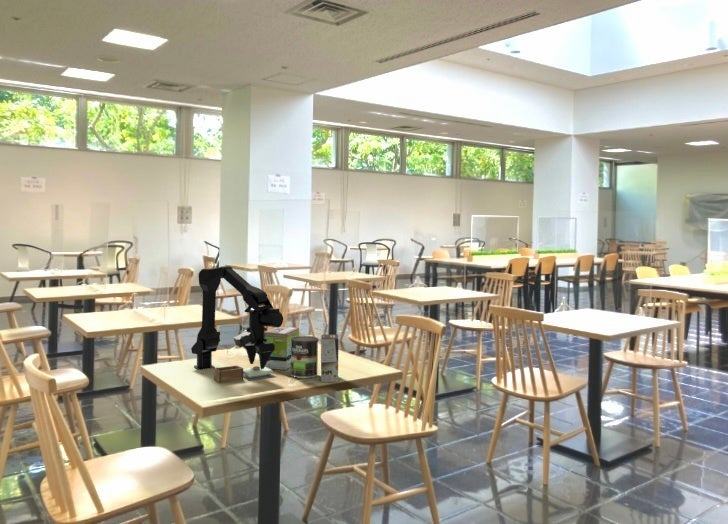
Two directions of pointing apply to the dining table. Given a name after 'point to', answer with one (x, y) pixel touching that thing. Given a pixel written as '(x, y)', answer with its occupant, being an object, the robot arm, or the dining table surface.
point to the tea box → (280, 346)
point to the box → (228, 374)
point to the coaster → (258, 377)
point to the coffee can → (304, 356)
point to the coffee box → (329, 358)
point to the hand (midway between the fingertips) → (256, 366)
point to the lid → (256, 371)
